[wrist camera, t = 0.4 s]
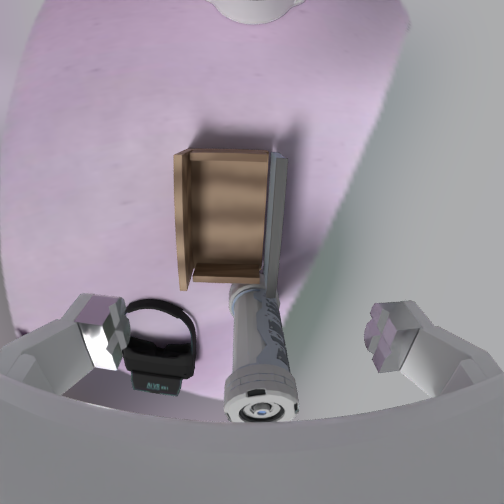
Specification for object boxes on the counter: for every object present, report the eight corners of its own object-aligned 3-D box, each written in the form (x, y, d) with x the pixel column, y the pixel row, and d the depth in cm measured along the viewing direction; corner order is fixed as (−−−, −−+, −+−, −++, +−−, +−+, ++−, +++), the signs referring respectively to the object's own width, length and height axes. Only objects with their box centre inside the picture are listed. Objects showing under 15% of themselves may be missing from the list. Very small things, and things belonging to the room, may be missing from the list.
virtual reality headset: (130, 364, 68) (119, 387, 59) (121, 290, 63) (104, 309, 53) (198, 373, 69) (193, 398, 60) (197, 298, 64) (190, 319, 54)
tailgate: (270, 151, 46) (277, 158, 37) (279, 152, 46) (288, 158, 37) (262, 270, 55) (266, 298, 46) (270, 270, 55) (275, 298, 47)
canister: (273, 268, 58) (298, 386, 31) (279, 307, 62) (301, 425, 35) (224, 276, 59) (214, 397, 31) (234, 314, 63) (232, 434, 36)
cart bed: (187, 148, 48) (173, 155, 38) (267, 150, 48) (274, 156, 38) (190, 261, 57) (180, 290, 47) (260, 263, 58) (264, 293, 48)
